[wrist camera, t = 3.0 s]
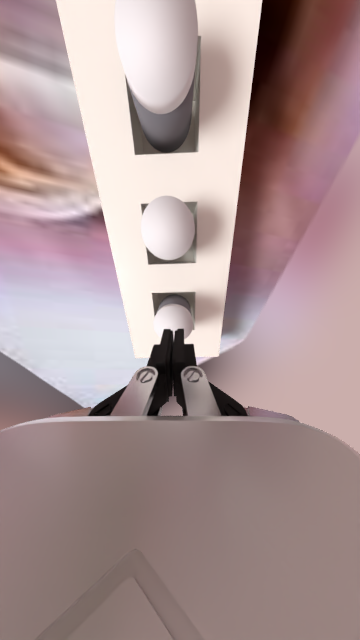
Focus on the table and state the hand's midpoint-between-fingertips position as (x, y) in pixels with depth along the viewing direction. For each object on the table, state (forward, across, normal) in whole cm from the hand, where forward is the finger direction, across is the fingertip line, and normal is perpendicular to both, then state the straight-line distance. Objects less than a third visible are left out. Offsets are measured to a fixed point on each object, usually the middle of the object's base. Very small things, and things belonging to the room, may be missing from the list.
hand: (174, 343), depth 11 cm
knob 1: (+7, 0, -17) cm, 18 cm away
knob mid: (+7, 0, -9) cm, 11 cm away
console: (+11, 0, -9) cm, 14 cm away
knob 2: (+7, 0, -1) cm, 7 cm away
